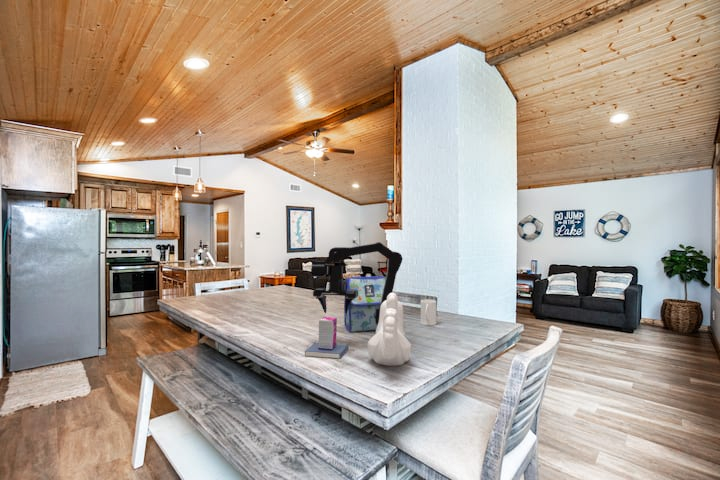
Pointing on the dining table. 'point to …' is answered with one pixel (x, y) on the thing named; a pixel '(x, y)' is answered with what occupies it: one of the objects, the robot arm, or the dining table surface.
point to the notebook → (327, 351)
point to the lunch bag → (363, 302)
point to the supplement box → (327, 333)
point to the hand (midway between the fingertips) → (335, 313)
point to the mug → (428, 312)
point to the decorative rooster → (390, 335)
